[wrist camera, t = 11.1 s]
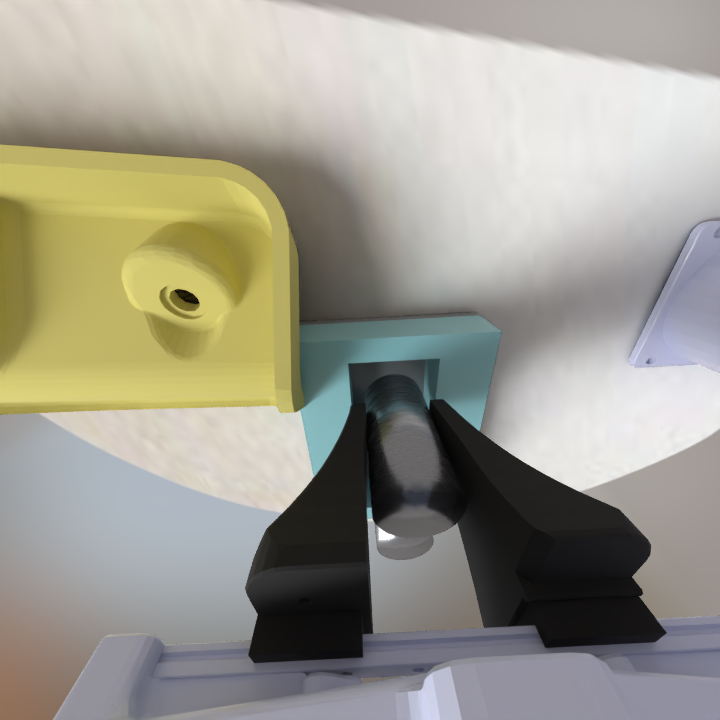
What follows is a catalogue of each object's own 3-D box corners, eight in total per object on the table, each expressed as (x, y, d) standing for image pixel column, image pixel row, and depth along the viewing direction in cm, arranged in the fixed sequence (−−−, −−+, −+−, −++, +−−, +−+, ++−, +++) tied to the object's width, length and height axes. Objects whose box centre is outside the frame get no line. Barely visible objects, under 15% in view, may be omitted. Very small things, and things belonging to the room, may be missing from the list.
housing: (474, 311, 15) (501, 331, 12) (448, 477, 21) (461, 513, 18) (299, 321, 15) (287, 343, 12) (326, 483, 21) (322, 521, 19)
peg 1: (419, 419, 14) (459, 536, 9) (365, 422, 14) (372, 539, 9) (423, 372, 13) (474, 477, 8) (363, 375, 13) (371, 481, 7)
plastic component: (288, 164, 9) (291, 445, 9) (308, 248, 16) (309, 404, 17) (-464, 110, 7) (-425, 475, 7) (-55, 234, 14) (-45, 413, 15)
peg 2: (412, 440, 18) (439, 527, 13) (405, 469, 20) (427, 559, 14) (370, 439, 18) (380, 527, 13) (366, 469, 19) (374, 560, 14)
